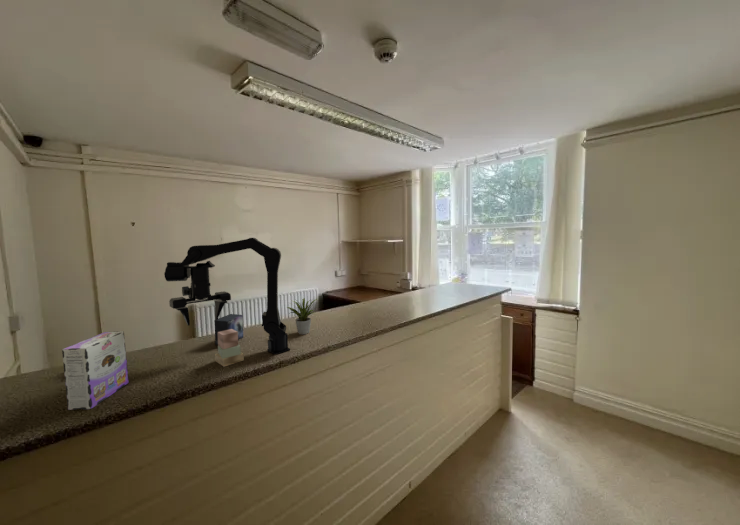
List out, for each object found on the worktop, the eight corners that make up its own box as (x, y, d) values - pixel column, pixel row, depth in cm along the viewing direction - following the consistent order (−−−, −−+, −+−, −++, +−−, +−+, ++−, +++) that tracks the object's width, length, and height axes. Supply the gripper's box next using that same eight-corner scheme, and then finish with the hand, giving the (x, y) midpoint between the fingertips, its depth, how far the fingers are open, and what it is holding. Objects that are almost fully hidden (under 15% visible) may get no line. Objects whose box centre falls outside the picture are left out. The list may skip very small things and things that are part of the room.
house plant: (310, 325, 148) (310, 292, 146) (326, 331, 137) (325, 296, 136) (284, 331, 138) (282, 297, 137) (299, 339, 128) (297, 301, 126)
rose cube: (232, 342, 109) (231, 328, 109) (238, 345, 106) (237, 331, 105) (218, 345, 105) (217, 332, 105) (223, 349, 102) (222, 335, 101)
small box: (228, 346, 120) (227, 320, 119) (214, 345, 122) (213, 320, 121) (244, 337, 131) (243, 314, 130) (231, 336, 132) (230, 313, 131)
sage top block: (236, 349, 110) (235, 341, 110) (240, 354, 105) (240, 346, 105) (218, 353, 106) (217, 345, 106) (222, 358, 101) (222, 350, 101)
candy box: (109, 384, 90) (104, 331, 88) (129, 383, 90) (125, 330, 89) (66, 410, 76) (60, 348, 75) (91, 409, 76) (85, 347, 75)
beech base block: (235, 356, 111) (235, 348, 111) (243, 361, 106) (243, 353, 106) (215, 362, 106) (215, 354, 106) (223, 368, 101) (223, 359, 101)
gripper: (219, 275, 119) (221, 313, 120) (164, 281, 106) (167, 323, 107) (230, 278, 111) (232, 319, 113) (172, 284, 98) (175, 330, 99)
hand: (202, 322), depth 108 cm, fingers open, 9 cm apart
